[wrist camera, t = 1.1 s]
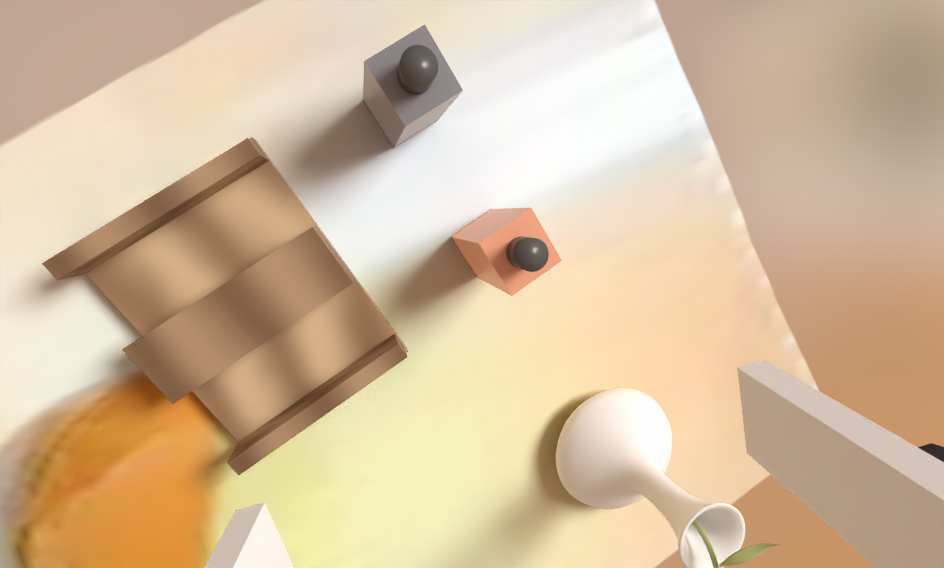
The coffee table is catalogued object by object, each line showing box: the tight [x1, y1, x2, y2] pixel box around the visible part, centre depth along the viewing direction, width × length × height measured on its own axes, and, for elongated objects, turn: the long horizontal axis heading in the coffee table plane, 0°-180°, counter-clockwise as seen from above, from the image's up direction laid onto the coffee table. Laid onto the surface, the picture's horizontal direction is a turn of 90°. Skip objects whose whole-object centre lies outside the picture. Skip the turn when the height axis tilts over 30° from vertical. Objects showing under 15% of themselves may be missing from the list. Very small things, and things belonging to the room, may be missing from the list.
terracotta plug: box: [451, 208, 562, 296], centre depth 32 cm, size 4×4×11 cm
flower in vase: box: [556, 388, 780, 568], centre depth 31 cm, size 13×11×25 cm
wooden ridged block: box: [42, 138, 408, 475], centre depth 32 cm, size 14×19×4 cm
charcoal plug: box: [363, 25, 463, 148], centre depth 29 cm, size 4×4×11 cm
